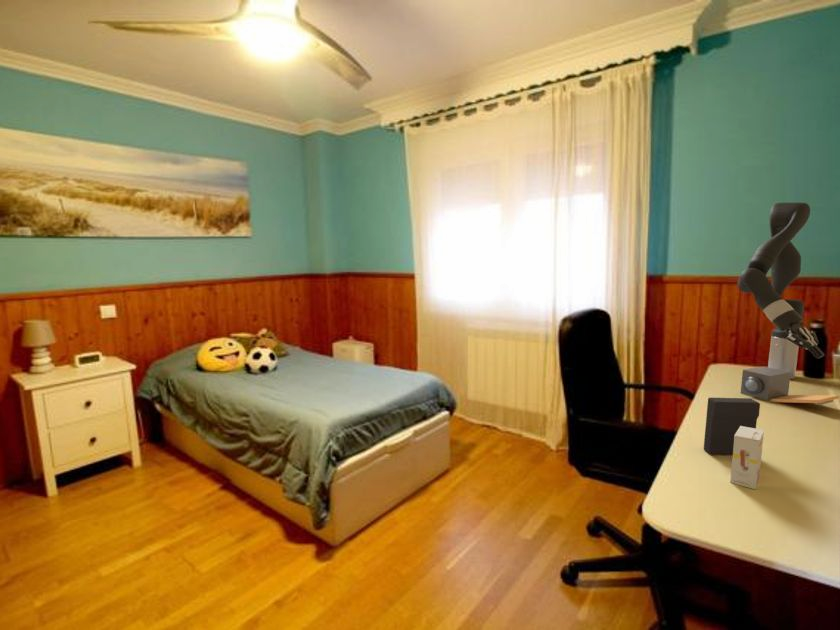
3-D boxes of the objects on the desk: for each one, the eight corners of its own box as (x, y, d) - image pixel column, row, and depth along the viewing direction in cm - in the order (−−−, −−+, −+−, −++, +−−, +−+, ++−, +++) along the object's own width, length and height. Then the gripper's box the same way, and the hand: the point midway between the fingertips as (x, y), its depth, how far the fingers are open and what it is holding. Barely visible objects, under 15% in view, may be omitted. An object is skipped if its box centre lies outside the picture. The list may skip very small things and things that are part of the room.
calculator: (744, 450, 118) (749, 397, 116) (754, 457, 114) (760, 402, 112) (701, 448, 119) (706, 396, 117) (710, 455, 115) (715, 401, 113)
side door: (788, 395, 157) (838, 395, 144) (789, 400, 157) (839, 400, 144) (769, 399, 153) (819, 399, 140) (770, 404, 153) (820, 405, 140)
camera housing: (760, 391, 166) (763, 366, 165) (787, 398, 158) (790, 372, 157) (736, 396, 161) (739, 370, 160) (763, 404, 153) (766, 376, 151)
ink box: (735, 469, 108) (739, 424, 106) (760, 476, 104) (765, 429, 103) (728, 482, 102) (733, 434, 100) (755, 490, 98) (760, 441, 97)
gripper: (780, 310, 148) (820, 352, 138) (803, 307, 152) (843, 348, 143) (761, 323, 153) (798, 365, 144) (784, 320, 158) (821, 360, 149)
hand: (820, 356), depth 143 cm, fingers closed
